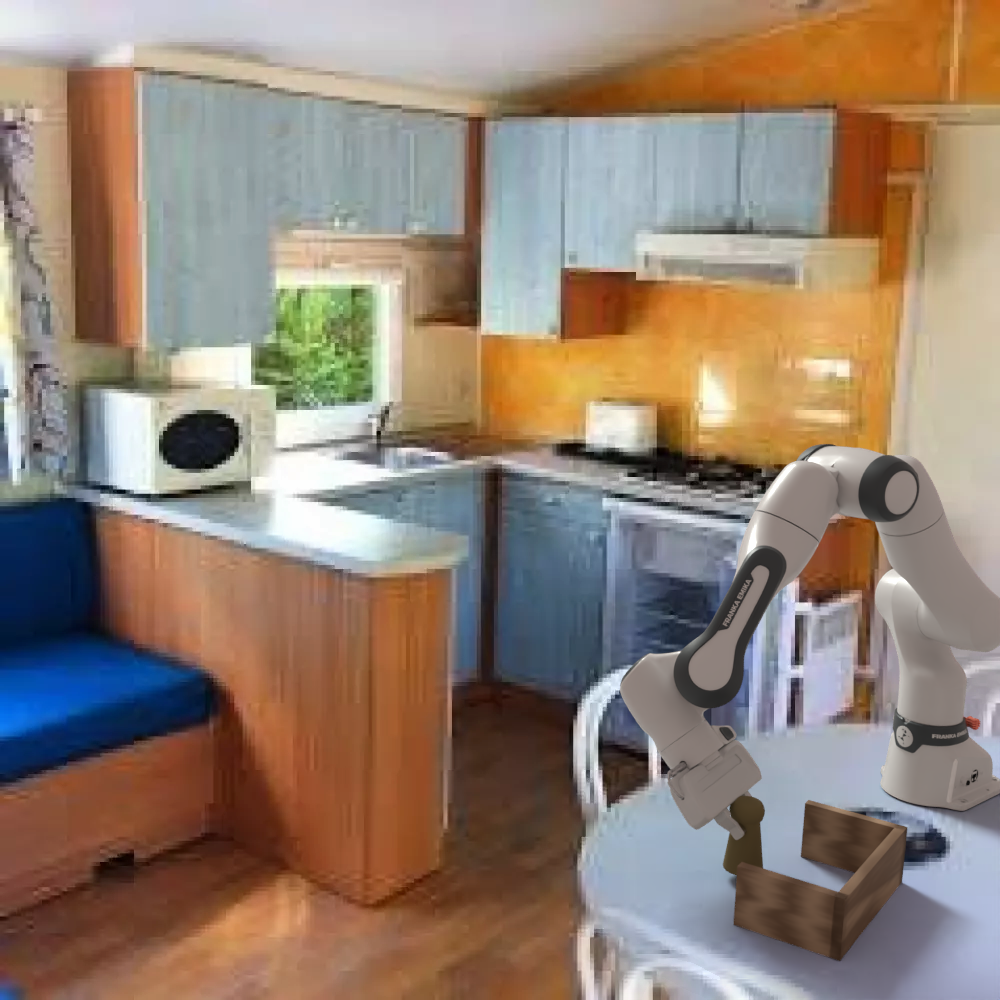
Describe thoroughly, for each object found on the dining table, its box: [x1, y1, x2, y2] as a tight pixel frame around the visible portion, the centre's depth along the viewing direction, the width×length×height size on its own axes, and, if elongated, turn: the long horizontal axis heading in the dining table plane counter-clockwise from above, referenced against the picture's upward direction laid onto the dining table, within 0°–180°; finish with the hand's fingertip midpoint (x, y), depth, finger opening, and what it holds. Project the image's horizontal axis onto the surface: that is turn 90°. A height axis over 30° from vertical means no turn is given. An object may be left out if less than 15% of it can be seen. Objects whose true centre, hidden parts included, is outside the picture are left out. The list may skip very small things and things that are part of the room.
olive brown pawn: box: [722, 795, 766, 877], centre depth 193 cm, size 6×6×11 cm
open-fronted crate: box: [733, 799, 908, 962], centre depth 187 cm, size 16×27×9 cm, turn 146°
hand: (749, 830), depth 193 cm, fingers closed on olive brown pawn, 4 cm apart
